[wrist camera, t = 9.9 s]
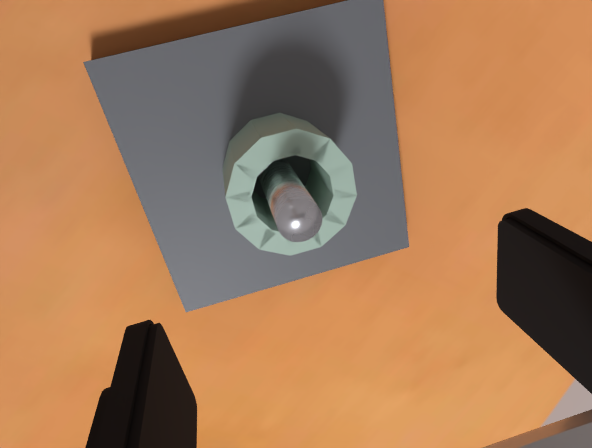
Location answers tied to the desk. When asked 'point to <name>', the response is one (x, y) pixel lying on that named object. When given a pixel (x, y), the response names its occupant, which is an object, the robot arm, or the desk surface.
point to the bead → (321, 185)
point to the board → (234, 116)
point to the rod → (290, 202)
